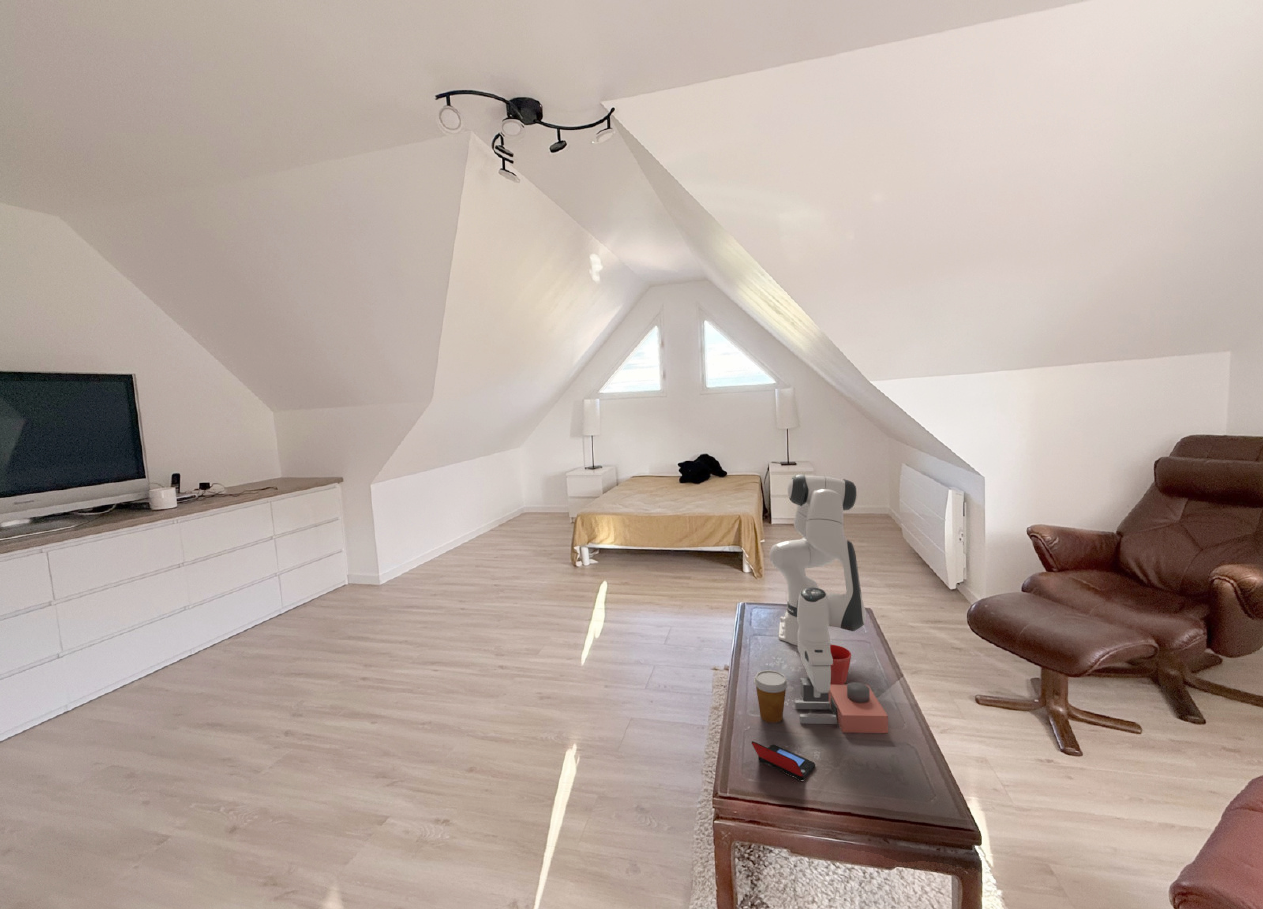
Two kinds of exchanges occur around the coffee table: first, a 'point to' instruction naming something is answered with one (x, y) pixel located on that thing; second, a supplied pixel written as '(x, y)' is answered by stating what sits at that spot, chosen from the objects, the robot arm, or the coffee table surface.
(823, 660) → the robot arm
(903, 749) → the coffee table surface
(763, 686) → the disposable coffee cup
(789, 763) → the handheld game console
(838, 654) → the flower pot
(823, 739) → the coffee table surface
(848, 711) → the pink block with rods
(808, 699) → the tall grey rectangular block
